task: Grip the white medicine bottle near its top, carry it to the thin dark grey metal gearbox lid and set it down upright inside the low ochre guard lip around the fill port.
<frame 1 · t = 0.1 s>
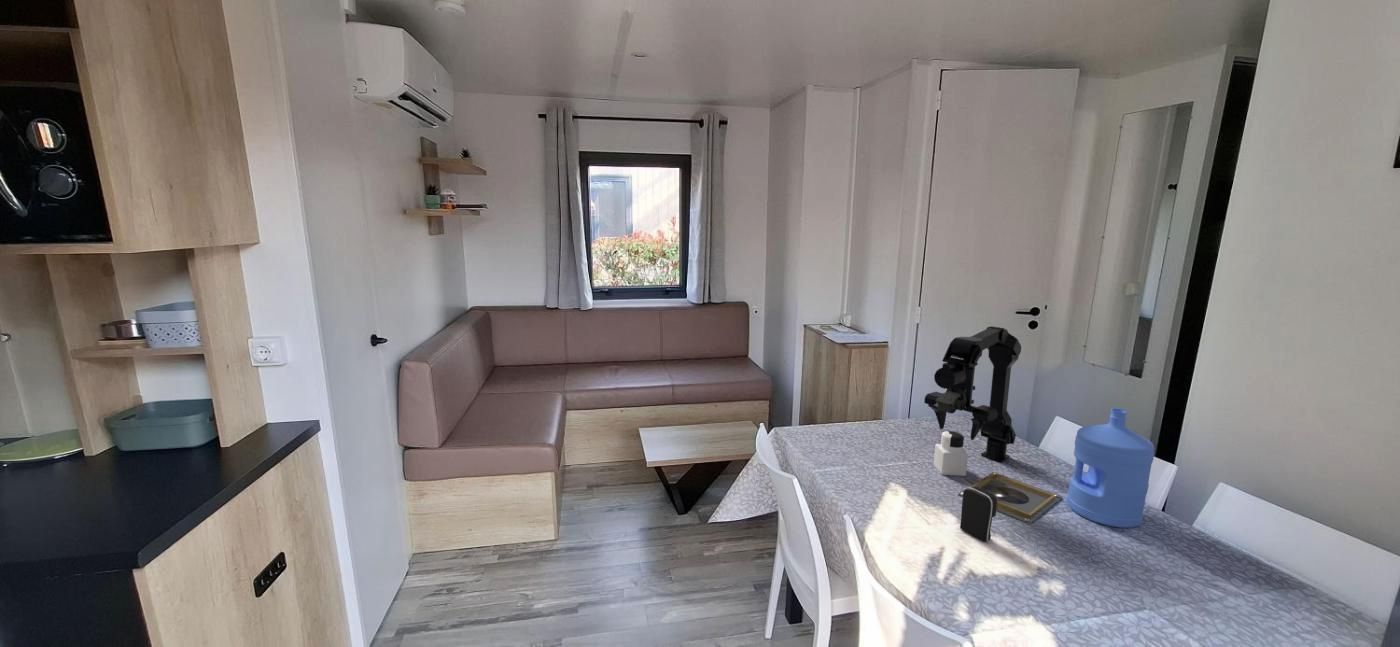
hand: (956, 434, 146), 14 cm above the table, fingers open, 9 cm apart
battery charger: (976, 534, 122), on the table
gearbox lid: (1009, 496, 140), on the table
medicine bottle: (949, 470, 155), on the table
water jug: (1102, 513, 132), on the table
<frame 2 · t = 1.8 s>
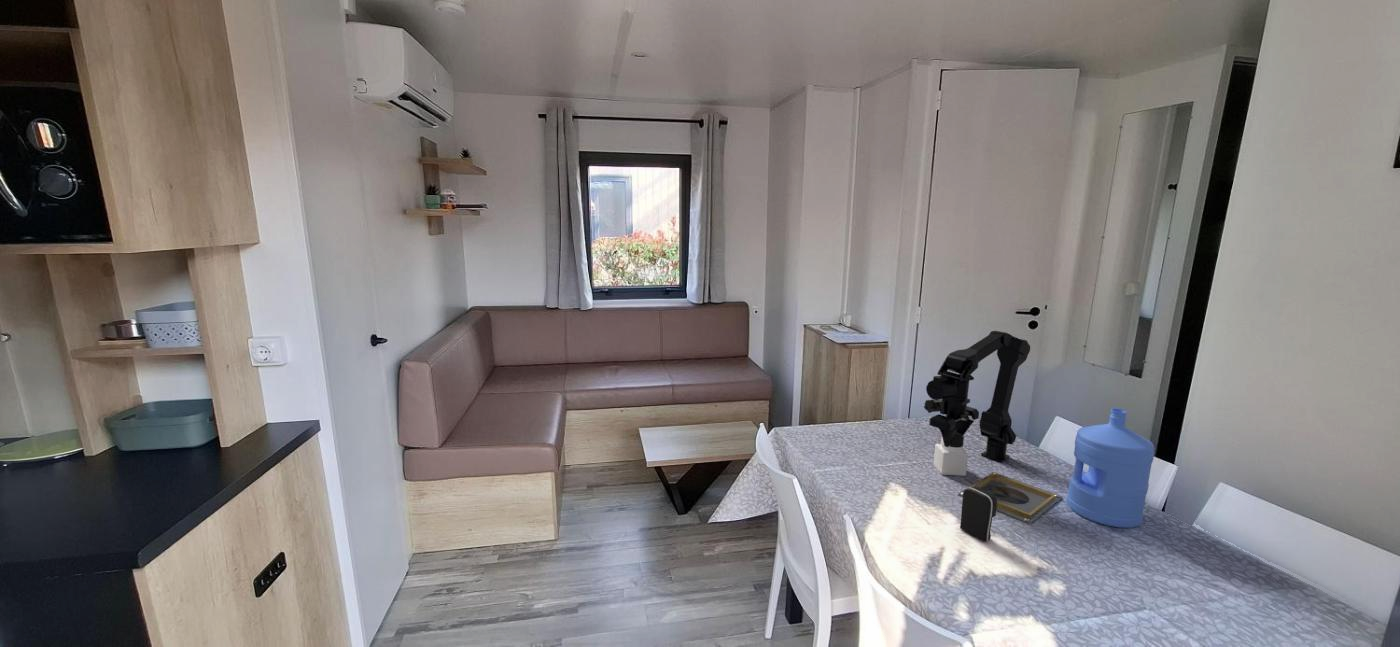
hand: (951, 444, 153), 9 cm above the table, fingers closed on medicine bottle, 6 cm apart
medicine bottle: (949, 470, 155), on the table, touching gripper
everything else where it was.
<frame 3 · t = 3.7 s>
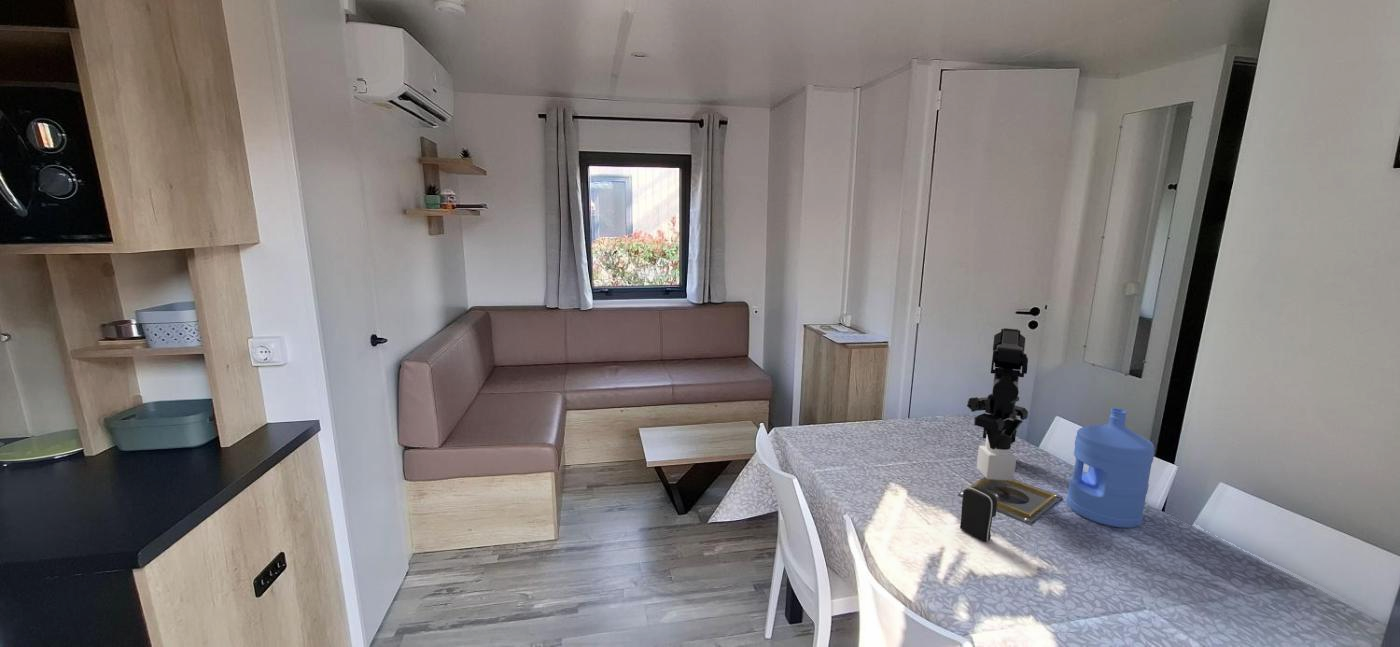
hand: (998, 446, 141), 13 cm above the table, fingers closed on medicine bottle, 6 cm apart
medicine bottle: (994, 475, 143), point 4 cm above the table, touching gripper
everything else where it was.
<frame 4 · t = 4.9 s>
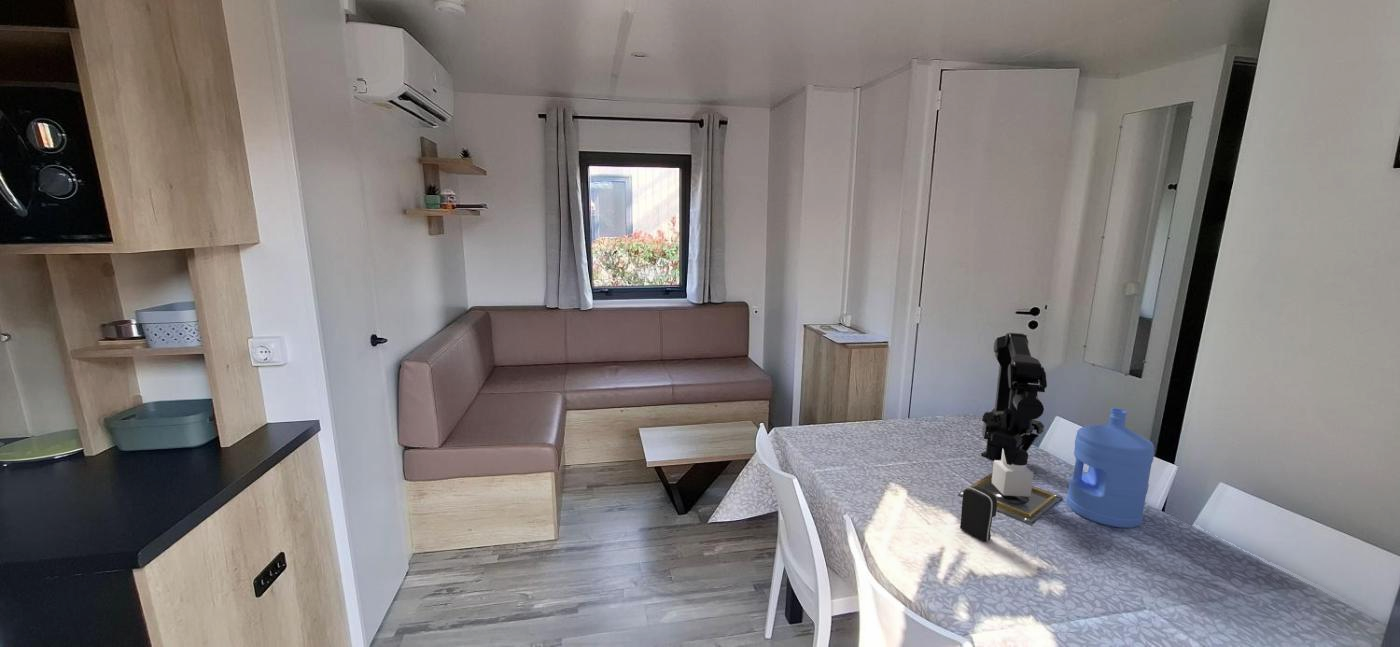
hand: (1014, 461, 138), 10 cm above the table, fingers closed on medicine bottle, 6 cm apart
medicine bottle: (1010, 490, 139), point 2 cm above the table, touching gripper
everything else where it was.
when the fingers open (10 cm above the table, at t = 5.7 s): medicine bottle drops 1 cm, resting on gearbox lid.
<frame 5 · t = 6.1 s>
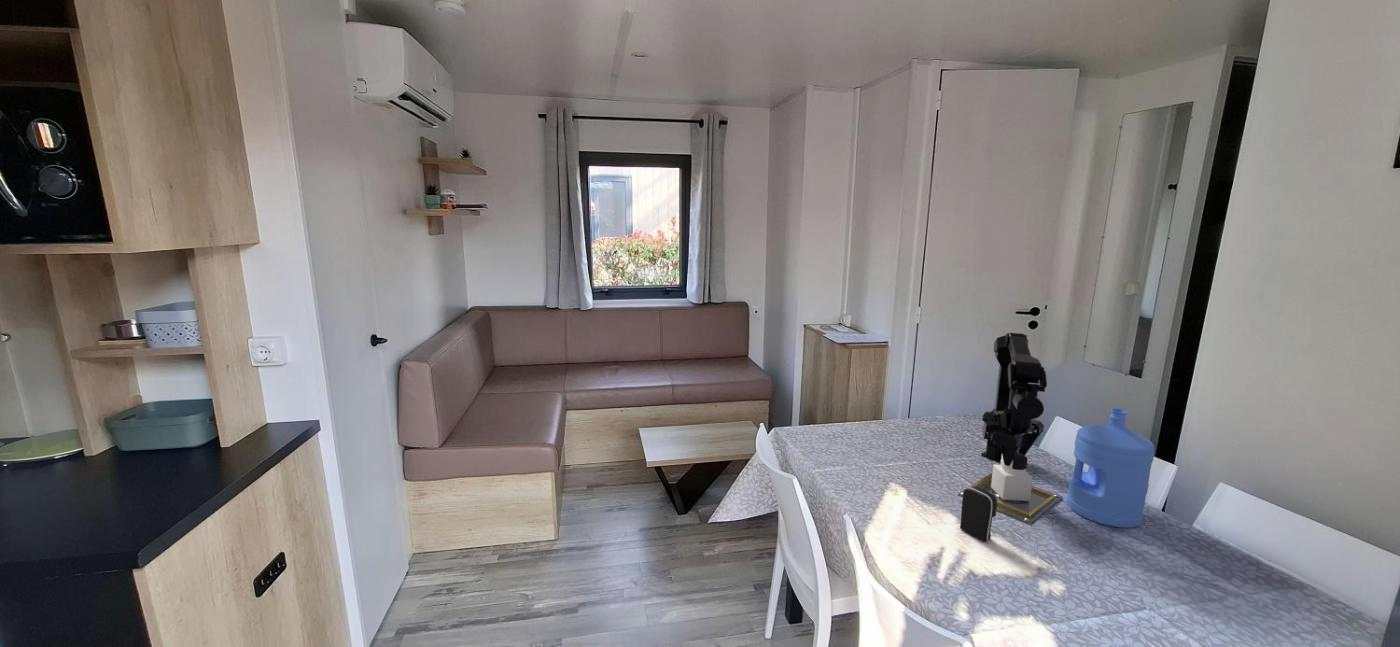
hand: (1014, 461, 138), 10 cm above the table, fingers open, 9 cm apart
medicine bottle: (1009, 495, 140), resting on gearbox lid
everything else where it was.
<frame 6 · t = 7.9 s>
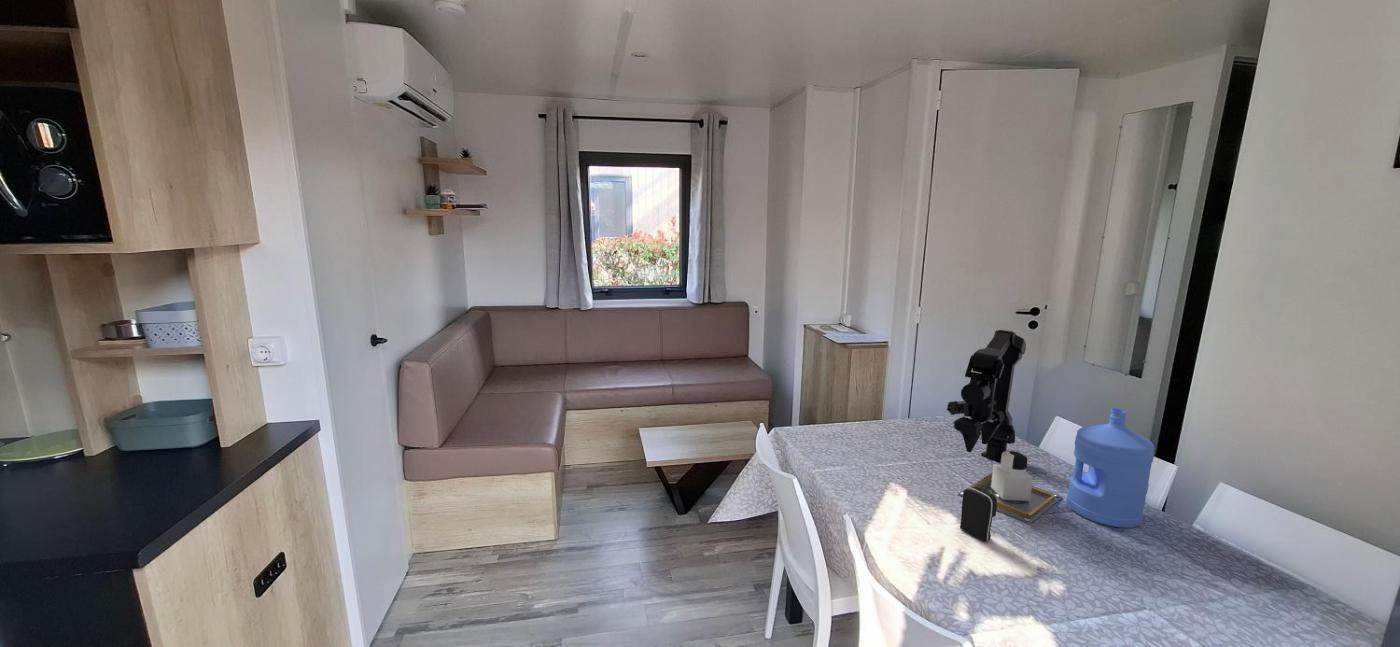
hand: (976, 447, 146), 11 cm above the table, fingers open, 9 cm apart
nothing on the table moved.
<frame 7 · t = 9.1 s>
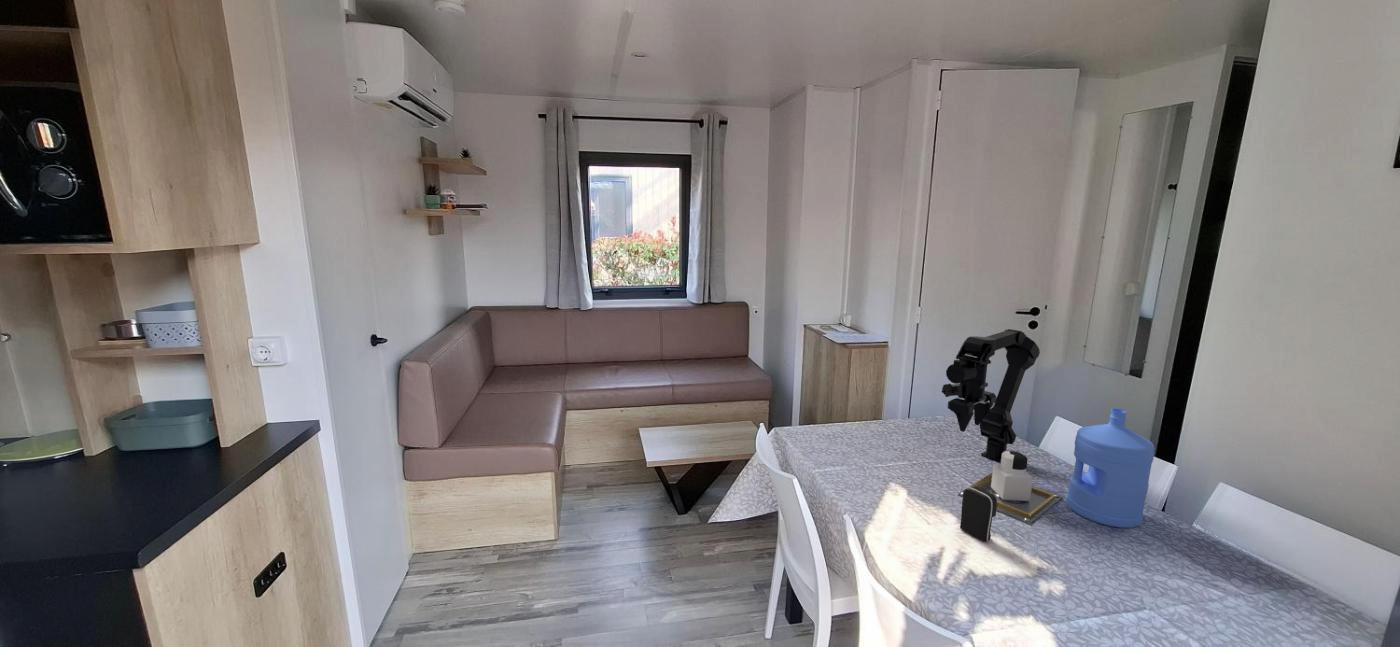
hand: (969, 427, 155), 13 cm above the table, fingers open, 9 cm apart
nothing on the table moved.
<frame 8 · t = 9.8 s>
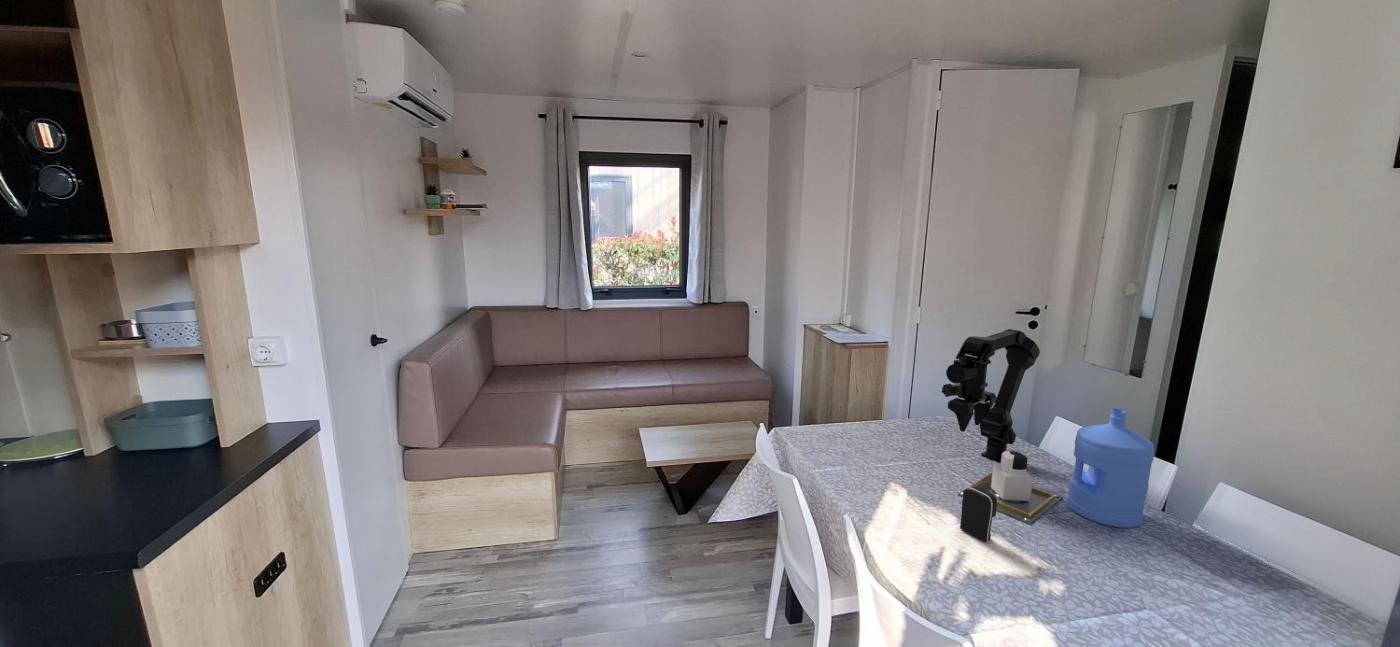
hand: (969, 427, 155), 13 cm above the table, fingers open, 9 cm apart
nothing on the table moved.
at the end: medicine bottle inside the target area on the gearbox lid (0.2 cm from its centre), point 0.3 cm above the gearbox lid's base; medicine bottle tilted 0°; the gripper is holding nothing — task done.
